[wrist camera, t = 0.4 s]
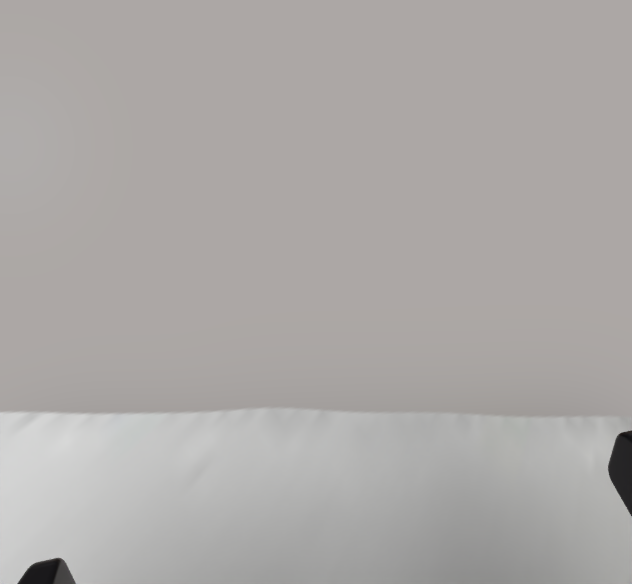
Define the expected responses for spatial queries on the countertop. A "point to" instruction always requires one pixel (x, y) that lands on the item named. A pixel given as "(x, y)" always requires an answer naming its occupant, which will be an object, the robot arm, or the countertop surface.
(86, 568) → the countertop surface
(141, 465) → the countertop surface
